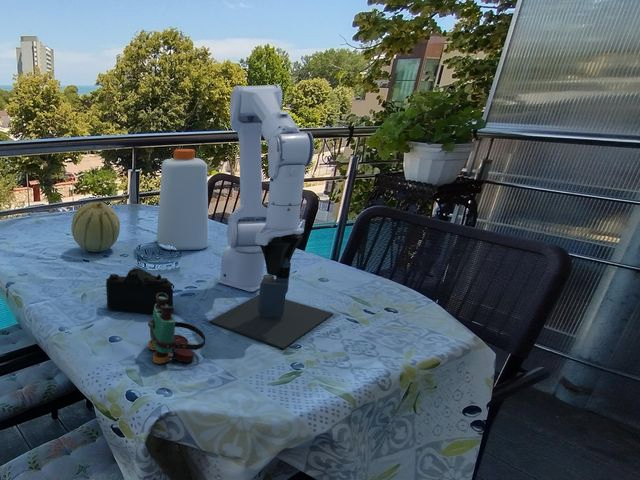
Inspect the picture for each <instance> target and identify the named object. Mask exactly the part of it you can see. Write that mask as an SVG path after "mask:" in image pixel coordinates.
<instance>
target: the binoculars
mask: <svg viewBox="0 0 640 480" xmlns="http://www.w3.org/2000/svg"><path fill="white" fill-rule="evenodd" d="M168 298H169V297H168V295H167V294H166V293H158V294H157V295H156V300H157V304H155V306H154V311H153V314H152V317H151V319H150V320H148V322H147V326H148V328H149V332H150V334H149V337H150V340H149V341H148V349H149V350H151V351H155V352H153V354H152V361H153V363H155V364H159V365H160V364H165V363H167V362H168V361H170V359H172V360H176V361H180V362H183V363H191V362H193V361H194V357H195V353H194V351H197V350H202V349H203V348H204V346H205V345H206V341H207V338H206V335H205V333H204V332H203V331H202V330H201V329H200V328H198V327H197V326H195V325H193V324H190V323H186V322H182V321H176V319H175V318H174V317H173V316H172V313H173V312H174V308H175V306H174V305H173V306H168V305H167V304H166V302H167V301H168ZM176 328H183V329H186V330H189V331H191V332H194V333H195V334H196V335H198V336H199V337H200V338H201V339H202V340H203V341H202V342H201V343H197V344H195V343H191V344H190V343H189V340H188V338H186V337H185V336H184V335H180V334H175V332H176ZM171 353H172V356H171Z"/></svg>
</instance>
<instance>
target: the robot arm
mask: <svg viewBox="0 0 640 480" xmlns="http://www.w3.org/2000/svg"><path fill="white" fill-rule="evenodd" d="M229 100H230V101H229V121H230V122H229V123H230V129H231V130H233V131H234V132H236V133H237V138H238V146H239V147H238V148H239V149H238V151H239V202H240V203H239V204H240V205H239V207H238V208H236V209H235V210H234V211H232V212H231V213H230V214H229V217H228V219H227V229H226V240H227V244H228V245H227V246H226V247H225V248H224V250H223V252H222V255H221V261H220V264H221V265H220V278H219V280H218V283H219V284H222V285H225V286H229V287H232V288H236V289H239V290H242V291H246V292H250V293H254V292H256V291H258V290H260V284H261V282H262V280H263V276H264V271H265V269H266V275H273V276H274V277H276V276H278V275H279V273H280V270H281V266H282V262H283V258H284V257H286V258H288V261H289V262H290V263H291V260H292V257H293V255H294V253H295V251H296V249H297V247H298V246H299V245H300V243H301V242H302V241H303V234H304V233H305V225H306V219H302V218H301V219H300V217H301V216H300V215H301V208H302V207H301V206H302V199H303V192H304V183H305V176H306V168H307V167H309V166H310V165H311V164H312V161H313V158H314V154H315V139H314V136H313V134H312V132H311V131H300V129H299V127H298V126H297V124H296V123H295V121H294V119H293V118H292V115H290V113H288V111H287V110H282V109H281V108H282V105H283V104H282V103H283V89H282V87H281V86H280V84H278V83H274V84H267V85H265V84H264V85H242V86H241V85H235V86H234V88H232V91H231V93H230V99H229ZM262 136H263V139H264V140H265V141H264V142H265V143H266V144H267V147H268V148H267V162H268V163H267V164H268V170H267V171H268V172H267V173H268V177H269V178H270V179H269V187H268V188H269V189H268V197H267V199H268V200H267V207H265V206H264V205H263V183H262V181H263V180H262V178H263V177H262V175H263V174H262Z"/></svg>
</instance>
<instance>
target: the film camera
mask: <svg viewBox="0 0 640 480" xmlns="http://www.w3.org/2000/svg"><path fill="white" fill-rule="evenodd" d="M105 281H106V282H105V289H106V290H105V291H106V292H105V293H106V306H107V307H106V308H107V309H108V310H109V311H117V312H125V313H135V314H143V315H153V311H154V306H155V304H157V300H156V295H157V294H158V293H166V294H167V295H168V297H169V298H168V301H167V302H166V304H167V305H168V306H173V307H174V289H175V285H174V284H173V283H172V282H171V281H170V280H169V279H168V278H166V277H162V276H161V274H157V276H156V275H154V274H151V273H150V272H148V271H146V270H144V269H142V268H137V267H133V268H132V269H130V270H129V271H128V272H127V273H126V275H125V276H123V275H122V276H121V275H119V274H117V273H111V274H110V275H109V277H108V278H106V280H105Z"/></svg>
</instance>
